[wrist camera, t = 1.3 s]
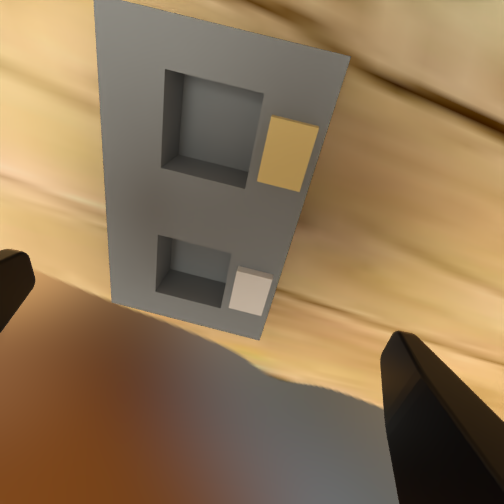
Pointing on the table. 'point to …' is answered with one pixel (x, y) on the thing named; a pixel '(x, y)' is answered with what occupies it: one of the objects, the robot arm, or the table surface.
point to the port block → (205, 160)
